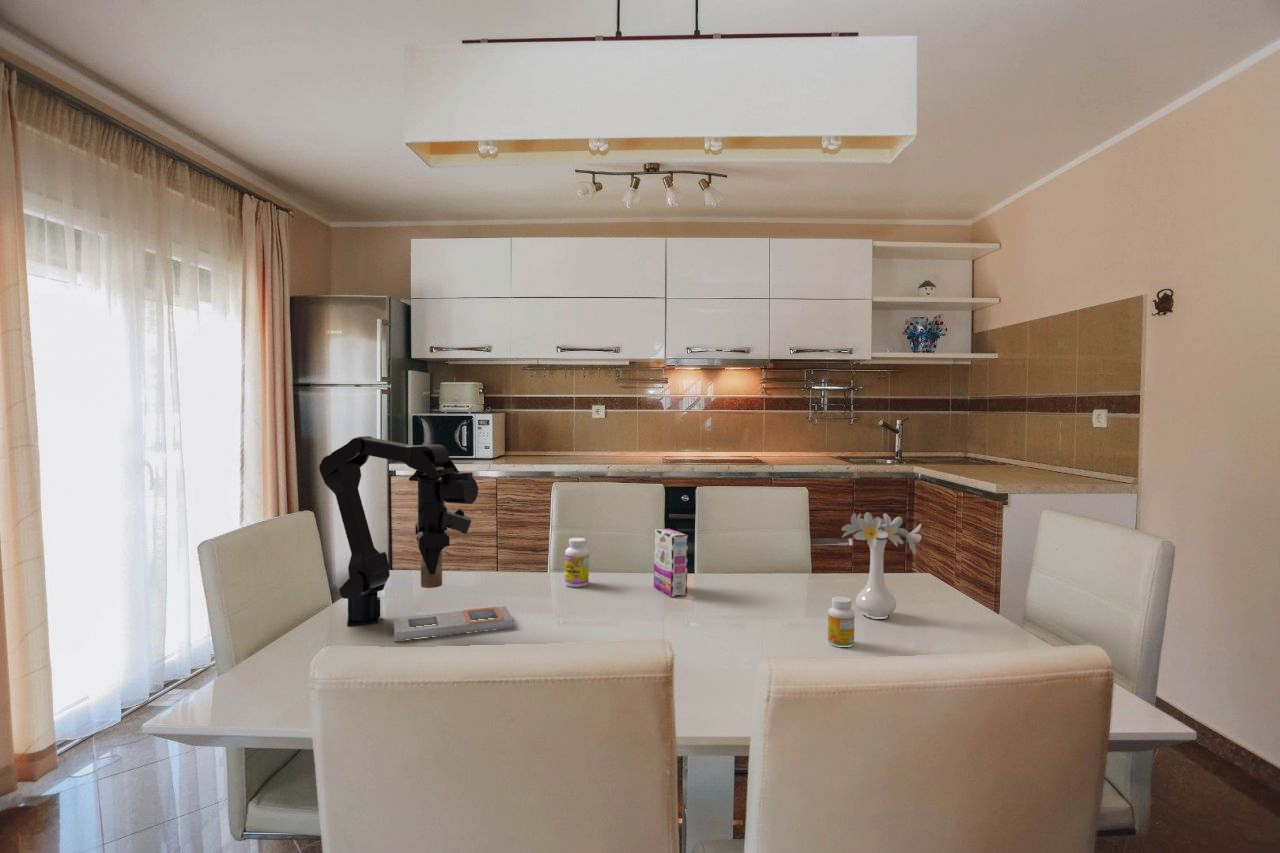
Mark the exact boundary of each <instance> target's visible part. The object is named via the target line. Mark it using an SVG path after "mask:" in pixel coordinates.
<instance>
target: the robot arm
mask: <svg viewBox="0 0 1280 853" xmlns="http://www.w3.org/2000/svg"><path fill="white" fill-rule="evenodd" d="M369 457H373V458H374V457H375V458H380V459H385V460H390V461H395V462H400V463H403V464H405V465H407V467H408V468H411V469H413V470H414V471H415V472H414V473H413V474H412V475H411V476H410V477H409V478H408V481H409V482H417V505H416V506H417V507H416V510H417V522H416V523H415V524H414V531H415V535H417V536H416V537H415V539H416V541H417V547H418V550H419V552H420V556H421V555H422V557H423V559H424V562H425V564H426V566H427V569H428V571H429V574H430V575H432V574H435V572H436V567H437V563H438V558H439V554H440V551H441V550H442V551H443V550H444V549H445V548H447V547H450V544H451V542H450V536H449V533H447V532H446V531H448V529H452V530H454V531H458V532H460V533H462V534H468V531H469V528H470V526H471V523H472V519H471V518H470V517H469V516H467V515H466V516H465V511H464V510H463V509H460V508H456V510H454V511H448V508H447V506H446V505H445V504H446V503H448V504H449V503H450V504H462V505H463V504H465V505H466V504H467V505H472V504H474V503H475V501H476V500H477V498H478V496H479V486H478V484H477V481H476V479H475V478H474V477H473V475H474V474H473V472H470V471H468V472H460V471H459V470H458V469H459V468H457V466H456V465H455V463H454V461H452V458H451V457H450V455H449V451H448V450H447V448H446V446H444V445H442V444H418V445H417V444H416V445H415V444H414V445H413V444H408V443H403V442H398V441H397V442H396V441H391V440H386V439H380V438H376V437H373V436H370V435H369V436H368V435H366V436H355V437H353V438H351V439H350V441H348V442H347V443H346V444H345V445H342V446H341V447H340V448H337V449H336V450H333V451H332V452H331V453H330V454H329V455H325V456H324V457H323V458H322V459H321V462H320V464H319V465H318V469H319V472H320V475H321V478H322V481H323V482H324V484H325V486H327V488H328V489H329V490H330V491H331V492H332V493H334V495H335V498H336V502H337V506H338V509H339V514H340V517H341V521H342V524H343V527H344V531H345V535H346V538H347V541H348V546H349V550H350V553H351V555H350V559H349V562H348V567H347V568H348V569H347V571H348V579H347V580H345V582H344V583H343V584H342V586H341V587H340V588H339V594H340V597H341V598H342V599H346V600H347V622H346V625H347V626H348V627H349V626H357V625H367V624H376V623H379V619H380V618H381V597H380V596H379V597H378V592H381V591H384V590H385V586H386V583H387V582H388V580H389V578H390V576H391V575H390V574H391V573H390V569H392V568H391V565H390V563H389V561H388V554H387V552H385V551H384V552H379V551H378V550H377V549H376V547H375V545H374V542H373V538H372V535H371V531H370V527H369V524H368V521H367V520H368V519H367V517H366V514H365V510H364V505H363V502H362V499H361V495H360V492H359V491H360V490H359V487H360V483H361V482H360V481H361V478H362V472H361V467H363V466H364V465H365V464H366V463H367V462H368V460H369Z"/></svg>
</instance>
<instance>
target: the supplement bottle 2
mask: <svg viewBox="0 0 1280 853" xmlns="http://www.w3.org/2000/svg"><path fill="white" fill-rule="evenodd" d="M831 605H832V606H831V607H829V608H828V612H827V614H828V615H827V616H828V617H827V643H828V642H829V643H830V644H832V645H836V646H849V645H852V644H854V643H855V612H854V610H853V609H852V608H851V607H852V599H851V598H849V597H846V596H833V597H831ZM829 643H828V644H829ZM830 644H829V645H830ZM832 645H831V646H832ZM854 645H855V644H854Z"/></svg>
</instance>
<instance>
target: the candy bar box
mask: <svg viewBox="0 0 1280 853" xmlns="http://www.w3.org/2000/svg"><path fill="white" fill-rule="evenodd" d="M688 551H689V535H688V534H685V533H683V532H680V531H677V530H675V529H671V528H659V529H658V528H657V529H654V552H653V554H654V556H653V558H654V559H653V588H654V587H656V588H658V589H659V590H658V589H657V590H658V591H660V590H661V591H663V592H664V593H663V592H662V593H663V594H665V593H666V594H665V595H667V596H668V595H669V596H668V597H670V596H671V597H670V598H676V597H675V596H680V597H682V596H681V595H686V596H687V595H688V557H689V556H688V554H689V553H688ZM656 588H655V589H656ZM661 591H660V592H661Z"/></svg>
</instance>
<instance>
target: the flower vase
mask: <svg viewBox="0 0 1280 853" xmlns="http://www.w3.org/2000/svg"><path fill="white" fill-rule="evenodd" d="M861 514H862V513H859V514H858V515H857V516H856V513H855V512H853V514H852V515H851V518H850V524H849V523H848V524H845V525H843V526H842V527H841V531H843V532H844V533H843V534H842V536H841V538H845V537H846V536H848V535H850V534H852V533H855V532H856V533H855V534H854V536H853V537H854V539H855V540H856V541H858V540H859V541H867V543H866V544H867V545H868V547H869V552H870V553H869V554H870V560H869V561H870V562H869V572H868V573H869V574H868V579H867V582H866V583H865V586H864V587H863V588H862V589H861V590H860V591H859V592H858V593H857V595H856V598H855V604H856V606H857V608H858V609H859V610H860V611H863V613H864V614H866V615H869V616H873V617H886V616H888V614H889V615H890V614H893V612H894V611H895V610H896V608H897V601H896V600H897V599H896V598H895V597H894V595H893V594H892V593H891V592H890V591H889V589H888V586H887V585H886V582H885V575H884V554H885V547H886V544H887V543H888V540H889V541H890V542H892V544H894V546H896V547H898V545H899V544H901V545H903V544H904V541H903V539H902V538H901V537H904V538H906V541H907V543H908V545H909V549H910V551H911V552H912V554H913V555H915V554H916V543H920V541H921V540H922V535H921V534H920V533H918V532H919V531H920V530H921V527H922V525H923V524H922V523H920V524H918V526H916V527H915V528H914V529H913V530H912V531H908V530H907V529H906V528H903V527H900V526H902V525H903V518H902V517H901V516H897V517H895V518H894V519H893V520H892V519H891V517H890V516H889V514H887V513H883V518H881V517H879V516H877V517H875V518H874V517H873V515H872V514H871V512H867V511H866V512H865V514H864V516H863V517H864V518H861ZM857 531H858V532H857ZM898 543H899V544H898Z"/></svg>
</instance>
